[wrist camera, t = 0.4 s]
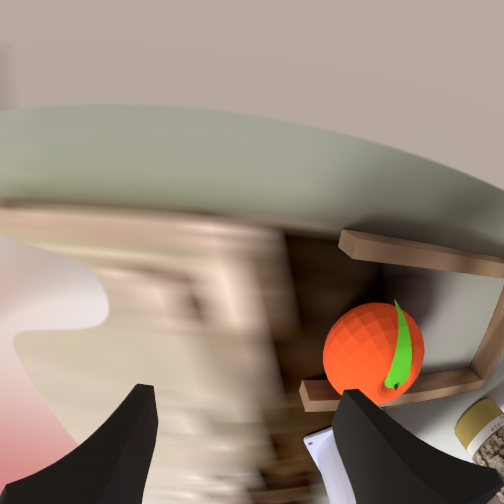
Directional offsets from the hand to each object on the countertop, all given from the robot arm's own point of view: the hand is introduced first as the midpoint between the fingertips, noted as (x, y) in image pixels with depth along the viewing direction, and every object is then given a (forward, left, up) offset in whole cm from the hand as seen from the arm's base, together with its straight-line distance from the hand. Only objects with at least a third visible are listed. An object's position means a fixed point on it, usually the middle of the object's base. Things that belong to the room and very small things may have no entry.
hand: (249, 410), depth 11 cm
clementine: (-6, -7, -11) cm, 14 cm away
